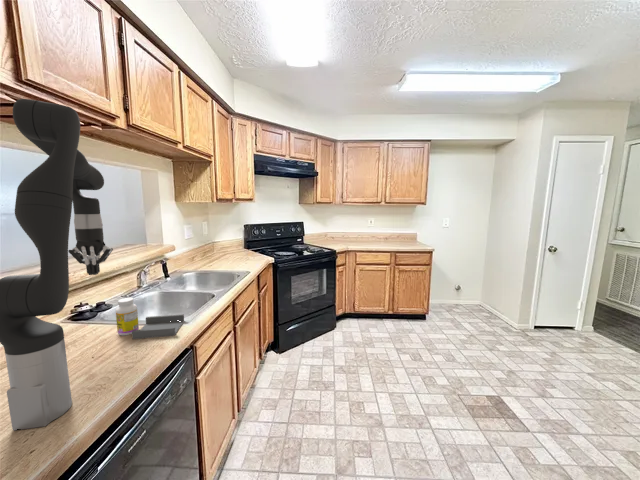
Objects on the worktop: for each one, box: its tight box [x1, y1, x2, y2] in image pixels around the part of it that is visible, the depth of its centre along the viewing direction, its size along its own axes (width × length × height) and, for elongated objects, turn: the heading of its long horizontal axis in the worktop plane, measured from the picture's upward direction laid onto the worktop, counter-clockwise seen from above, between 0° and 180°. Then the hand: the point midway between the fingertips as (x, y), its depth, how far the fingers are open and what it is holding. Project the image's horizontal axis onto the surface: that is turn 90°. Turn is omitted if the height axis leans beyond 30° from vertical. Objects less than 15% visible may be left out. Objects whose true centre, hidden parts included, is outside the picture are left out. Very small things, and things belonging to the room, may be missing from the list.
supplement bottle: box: [115, 297, 140, 336], centre depth 102 cm, size 7×7×13 cm
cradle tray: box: [131, 313, 185, 340], centre depth 105 cm, size 13×14×3 cm
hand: (93, 274), depth 97 cm, fingers closed
